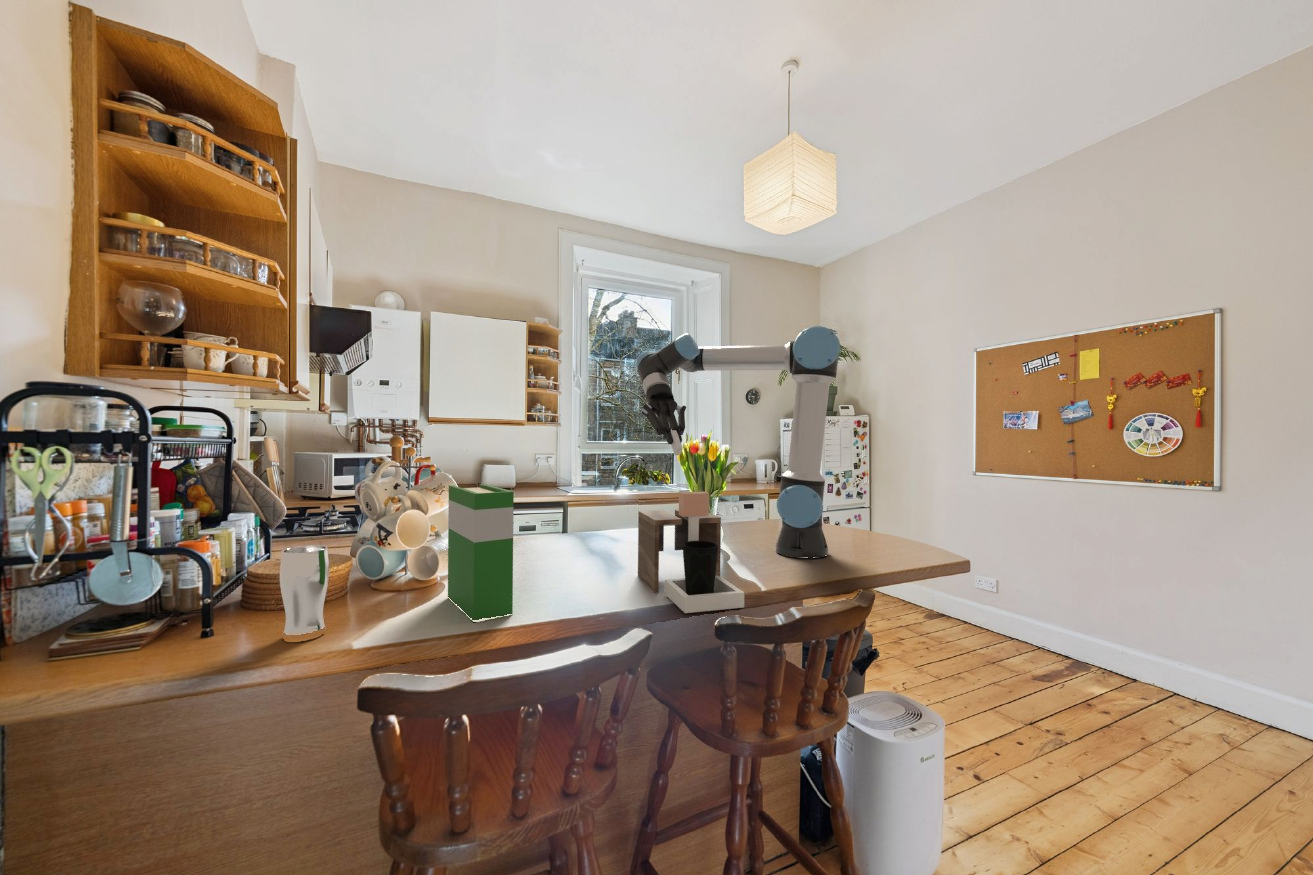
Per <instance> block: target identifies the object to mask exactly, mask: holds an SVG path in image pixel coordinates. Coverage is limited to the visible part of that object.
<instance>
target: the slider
mask: <svg viewBox="0 0 1313 875" xmlns="http://www.w3.org/2000/svg"><path fill="white" fill-rule="evenodd" d="M678 510H679V515H680V516H683V517H688V541H699V516H709V513H710V492H706V491H679V492H678ZM664 595H666V597H667V598H669V600H670V601H671V602H673V603H674V605H676V606H677V607H678V608H679V610H680V611H682V612H683V613H684V614H688V613H689V614H691V613H700V612H711V611H720V610H731V609H740V608H741V609H742V608H745V592H744V591H743V590H741V589H740V588H738V587H736V586H735V585H734V584H732V583H730V582H729V581H728V580H726V579H724V578H723V577H721V575H720V576H715V585H714V593H711V594H699V595H688V594H686V584H685V577H683V578H669V579H664Z"/></svg>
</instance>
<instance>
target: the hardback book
mask: <svg viewBox="0 0 1313 875" xmlns="http://www.w3.org/2000/svg"><path fill="white" fill-rule="evenodd" d="M514 495H515V494H514V491H513V490H508V489H505V488H502V487H497V486H493V485H489V484H486V483H480V484H479V487H463V488H462V487H460V486H457V485H448V512H447V513H448V517H447V518H448V520H447V521H448V525H447V529H448V533H447V534H448V537H447V540H448V542H447V546H448V547H447V549H448V550H447V598H448V597H449V598H450V599H451V600H452V601H453V602H454V603H455V604H457V606H459V607H460V608H461V609H462V610H463V611H464V612H465V613H466V614H467V615H468V616H469V617H470V618H472V620H479V619H482V618H491V617H496V616H504V615H507V614H512V615H514V614H513V612H514V611H513V606H514V604H513V597H514V596H513V595H514V593H513V590H514V502H515V501H514V500H515V499H514Z"/></svg>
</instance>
